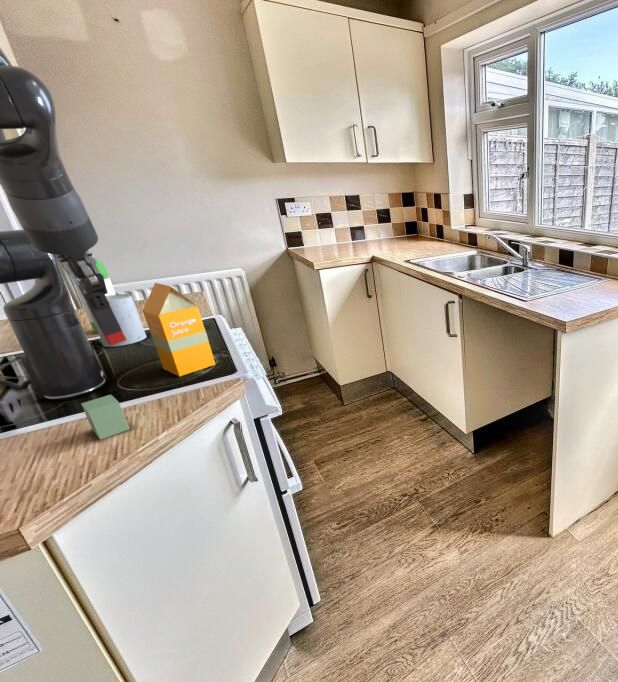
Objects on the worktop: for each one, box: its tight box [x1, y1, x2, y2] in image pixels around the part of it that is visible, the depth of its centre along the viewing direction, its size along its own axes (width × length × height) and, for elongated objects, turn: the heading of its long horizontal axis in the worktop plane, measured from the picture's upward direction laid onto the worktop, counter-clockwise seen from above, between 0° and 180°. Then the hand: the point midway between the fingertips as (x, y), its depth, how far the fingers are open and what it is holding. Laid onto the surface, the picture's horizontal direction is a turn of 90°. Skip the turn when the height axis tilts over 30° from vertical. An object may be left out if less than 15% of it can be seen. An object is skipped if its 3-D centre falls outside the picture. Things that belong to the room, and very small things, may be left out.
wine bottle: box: [72, 258, 117, 333], centre depth 124 cm, size 8×8×30 cm
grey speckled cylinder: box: [85, 293, 147, 348], centre depth 117 cm, size 10×10×12 cm
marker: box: [78, 285, 126, 345], centre depth 76 cm, size 14×2×2 cm
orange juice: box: [142, 282, 216, 377], centre depth 97 cm, size 8×9×20 cm
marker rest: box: [80, 394, 131, 440], centre depth 74 cm, size 4×5×6 cm
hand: (97, 302), depth 75 cm, fingers closed on marker, 2 cm apart
